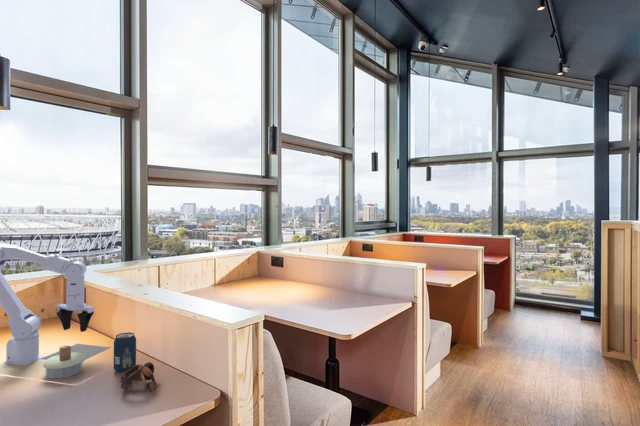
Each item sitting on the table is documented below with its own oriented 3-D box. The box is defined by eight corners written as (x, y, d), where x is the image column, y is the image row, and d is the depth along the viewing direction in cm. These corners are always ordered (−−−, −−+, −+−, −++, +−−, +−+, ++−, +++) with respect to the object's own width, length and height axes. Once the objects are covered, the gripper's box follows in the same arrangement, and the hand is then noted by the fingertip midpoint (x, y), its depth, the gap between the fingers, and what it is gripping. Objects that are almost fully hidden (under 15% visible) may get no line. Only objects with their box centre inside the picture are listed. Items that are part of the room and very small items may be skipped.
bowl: (38, 378, 124) (38, 366, 124) (65, 366, 134) (65, 354, 133) (63, 381, 122) (63, 369, 122) (88, 369, 131) (88, 357, 131)
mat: (40, 360, 138) (40, 358, 138) (77, 344, 154) (77, 343, 154) (76, 364, 135) (77, 363, 135) (111, 348, 150) (111, 347, 150)
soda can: (125, 364, 136) (125, 330, 136) (140, 367, 134) (140, 333, 134) (108, 371, 129) (109, 336, 129) (124, 375, 127) (124, 339, 127)
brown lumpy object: (150, 397, 114) (135, 376, 112) (125, 408, 115) (109, 387, 113) (167, 370, 125) (154, 351, 123) (144, 380, 127) (130, 361, 125)
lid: (33, 367, 123) (33, 352, 123) (64, 353, 135) (64, 340, 135) (65, 370, 121) (65, 355, 121) (94, 356, 133) (94, 342, 133)
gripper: (100, 293, 144) (99, 328, 144) (68, 290, 147) (68, 325, 148) (84, 297, 137) (84, 334, 138) (52, 294, 141) (52, 330, 141)
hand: (75, 330), depth 142 cm, fingers open, 7 cm apart
